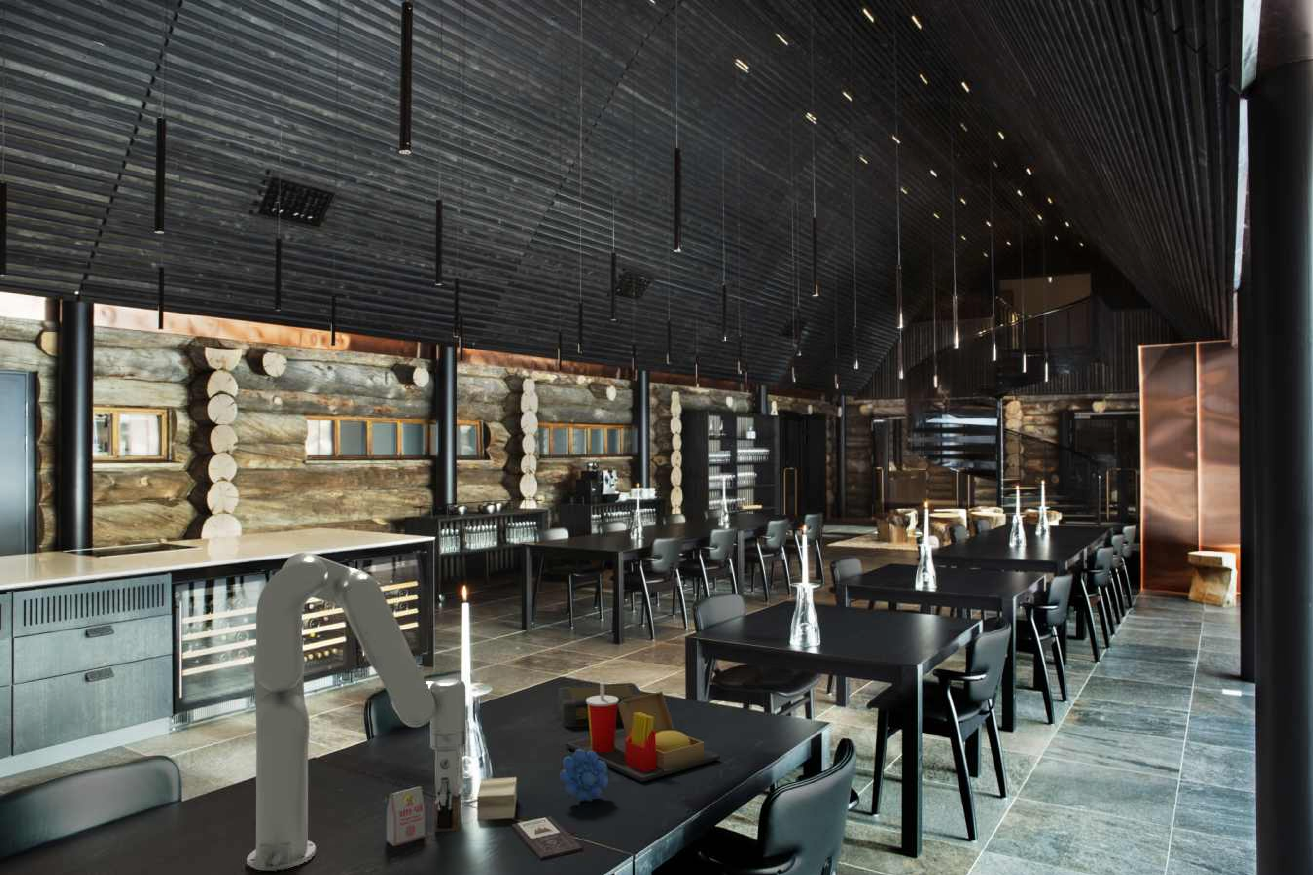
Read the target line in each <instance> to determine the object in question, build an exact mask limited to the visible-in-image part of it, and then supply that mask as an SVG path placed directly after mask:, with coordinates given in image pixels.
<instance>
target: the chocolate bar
mask: <svg viewBox="0 0 1313 875" xmlns="http://www.w3.org/2000/svg"><path fill="white" fill-rule="evenodd" d="M510 825H511V828H512V830H514V832H515V833H516V834H517V835H518V836H519V837H520V839H521V840H522V841H523V842H524V843H525V844H526V845H527V846H528V848H529V849H530V850H531V851H532V852H533V853H534V854H535V856H536V857H537V858H538V859H539V860H540V861H542V860H547V859H551V858H554V857H555V858H556V857H560V856H563V855H567V854H572V853H576V852H580V851H583V850H584V847H583V846H582V845H581V843H579V841H577V840H576V839H575V838H574V837H573V836H572V835H571V834H570V833H568V832H569V831H568V832H567V831H566V829H565V828H563V826H562V825H561V824H560V823H558V821H557V820H555V819H554V818H553V817H552V815H549V816H545V817H542V818H541V817H540V818H535V819H531V820H527V821H522V822H517V823H512V824H510Z"/></svg>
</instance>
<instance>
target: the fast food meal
mask: <svg viewBox="0 0 1313 875" xmlns="http://www.w3.org/2000/svg"><path fill="white" fill-rule="evenodd" d="M599 685H600V695H601V696H593V697H590V698H588V699H586V702H587V704H588V715H589V726H588V727H589V735H590V736H589V737H585V738H581V739H577V740H572V741H569V742H565V748H568V749H570V750H572V751H573V752H575V751H576V750H577V749H581V750H583V751H584V752H585V754H587V752H589V751H595V752H596V753H597V755H598V761H599V760H600V761H604V762H605V763H606V766H607V767H609V768H611V769H614V770H616V771H618V772H619V773H622V774H625V775H627V776H629V777H631V778H633V779H635V780H637V781H638V782H641V783H642V782H647V781H650V780H653V779H656V778H660V777H663V776H667V775H670V774H673V773H676V772H680V771H683V770H688V769H691V768H695V767H698V766H702V765H704V764H708V763H711V762H714V761H718V760H720V759H721V758H720V755H719V754H717V753H714V752H712V751H709V750H706V749H705V742H704V741H702V740H699V739H697V738H694V737H691V736H689V735H686V734H684V733H682V732H679V731H676V729H675V726H674V723H673V720H672V717H671V714H670V710H669V708H668V705H667V702H666V698H665V695H664V692H663V691H659V692H655V693H650V694H645V695H644V694H643V696H640V697H635V698H630V699H626V700H622V701H621V702H619V703H618V704H617V702H618V698H617V697H614V696H606V695H604V685H605V683H604V682H600V684H599ZM617 705H618V708H619V711H620V714H621V718H622V721H623V727H624V728H623V729H618V730H616V728H617V727H616V725H617V724H616V713H617Z"/></svg>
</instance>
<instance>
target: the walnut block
mask: <svg viewBox="0 0 1313 875" xmlns="http://www.w3.org/2000/svg"><path fill="white" fill-rule="evenodd" d="M452 796H453V795H452ZM438 799H439V798H438V797H437V796H436V797H435V801H434V833H440V832H457V831H459V830H460V827H461V823H462V793H460V794H459V795H458V796H457V797H456V796H453V797H452V808H453V827H452V828H450V829H438V828H437V809H438ZM447 799H448V801H449V798H447Z"/></svg>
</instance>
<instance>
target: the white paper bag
mask: <svg viewBox="0 0 1313 875" xmlns="http://www.w3.org/2000/svg"><path fill="white" fill-rule="evenodd" d="M425 806H426V805H425V800H424V795H423V787H422V786H416V787H412V788H408V789H404V790H400V791H396V792H393V793H390V794H389V801H388V805H387V809H386V841H387V842H388V843H389V844H391V846H393V847H396V846H399V845H402V844H406V843H409V842H413V841H416V840H419V839H423V838H425V837H426V807H425Z"/></svg>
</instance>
